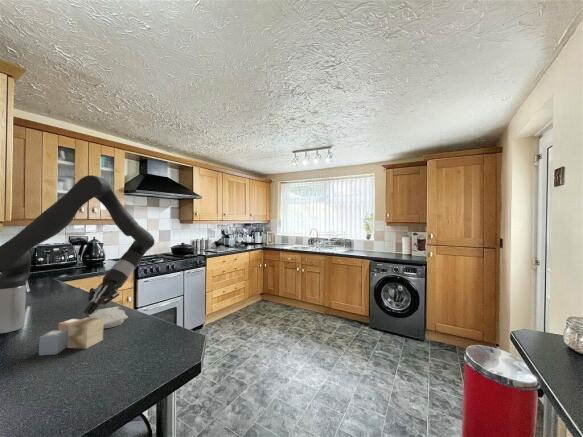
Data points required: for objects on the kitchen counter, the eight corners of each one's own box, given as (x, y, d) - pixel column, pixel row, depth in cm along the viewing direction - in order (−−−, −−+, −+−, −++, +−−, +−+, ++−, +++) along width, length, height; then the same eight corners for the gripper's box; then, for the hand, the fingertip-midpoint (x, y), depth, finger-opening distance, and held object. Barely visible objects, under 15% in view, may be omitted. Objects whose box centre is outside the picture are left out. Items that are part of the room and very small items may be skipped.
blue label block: (38, 355, 82) (39, 336, 82) (50, 348, 87) (51, 330, 87) (56, 354, 83) (57, 335, 83) (66, 347, 87) (67, 329, 88)
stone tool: (87, 317, 118) (92, 332, 100) (88, 308, 118) (93, 322, 100) (120, 311, 127) (131, 324, 108) (120, 303, 127) (131, 315, 109)
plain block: (67, 347, 87) (68, 324, 87) (85, 338, 94) (86, 317, 94) (86, 348, 86) (87, 325, 87) (102, 339, 93) (103, 318, 94)
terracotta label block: (57, 339, 93) (58, 322, 93) (72, 334, 98) (73, 318, 98) (67, 341, 92) (68, 324, 92) (82, 335, 97) (82, 319, 97)
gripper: (100, 267, 102) (65, 306, 90) (126, 269, 99) (93, 310, 86) (112, 277, 107) (81, 316, 95) (137, 279, 104) (108, 320, 91)
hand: (87, 313), depth 91 cm, fingers closed
